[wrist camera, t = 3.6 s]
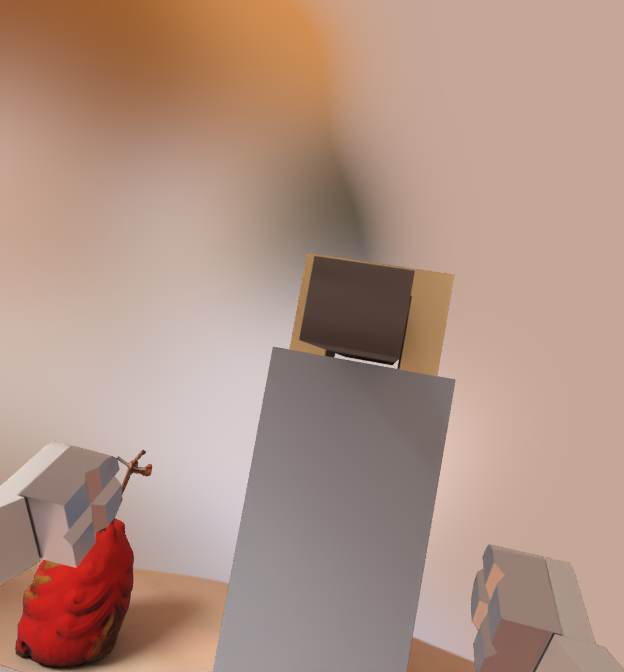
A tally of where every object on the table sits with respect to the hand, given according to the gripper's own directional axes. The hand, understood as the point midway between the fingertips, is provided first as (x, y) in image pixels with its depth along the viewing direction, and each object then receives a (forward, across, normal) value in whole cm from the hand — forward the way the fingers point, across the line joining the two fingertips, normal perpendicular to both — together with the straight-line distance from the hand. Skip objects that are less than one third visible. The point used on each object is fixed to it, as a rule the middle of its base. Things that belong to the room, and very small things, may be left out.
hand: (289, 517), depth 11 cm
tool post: (+9, 0, +29) cm, 30 cm away
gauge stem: (+16, 0, +5) cm, 17 cm away
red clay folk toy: (+10, +17, +30) cm, 36 cm away
